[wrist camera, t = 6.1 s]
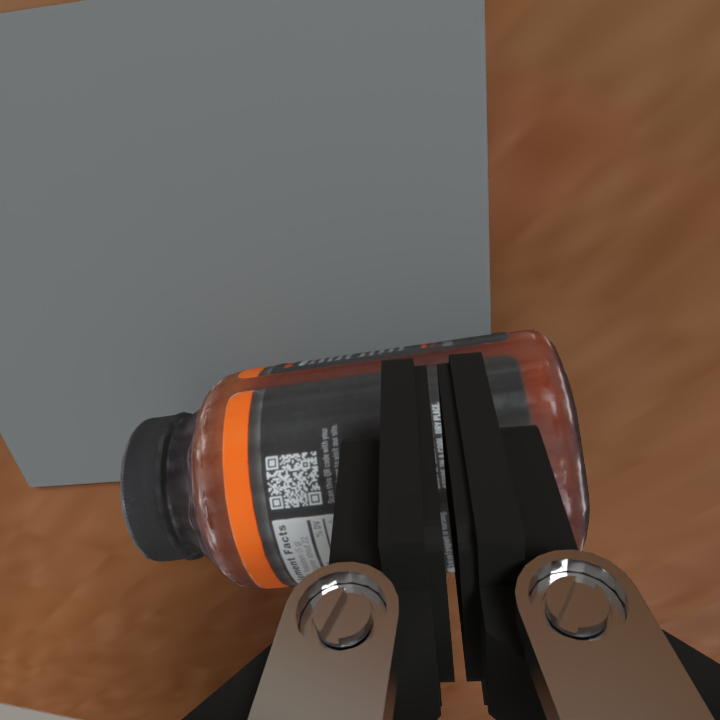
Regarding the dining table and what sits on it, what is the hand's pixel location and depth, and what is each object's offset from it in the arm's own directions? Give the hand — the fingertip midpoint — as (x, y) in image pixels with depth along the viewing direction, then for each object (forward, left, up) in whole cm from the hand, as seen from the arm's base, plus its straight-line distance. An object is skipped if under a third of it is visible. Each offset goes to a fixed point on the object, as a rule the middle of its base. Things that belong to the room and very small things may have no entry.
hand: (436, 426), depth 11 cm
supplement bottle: (-4, +4, -4) cm, 7 cm away
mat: (+6, 0, -8) cm, 10 cm away
